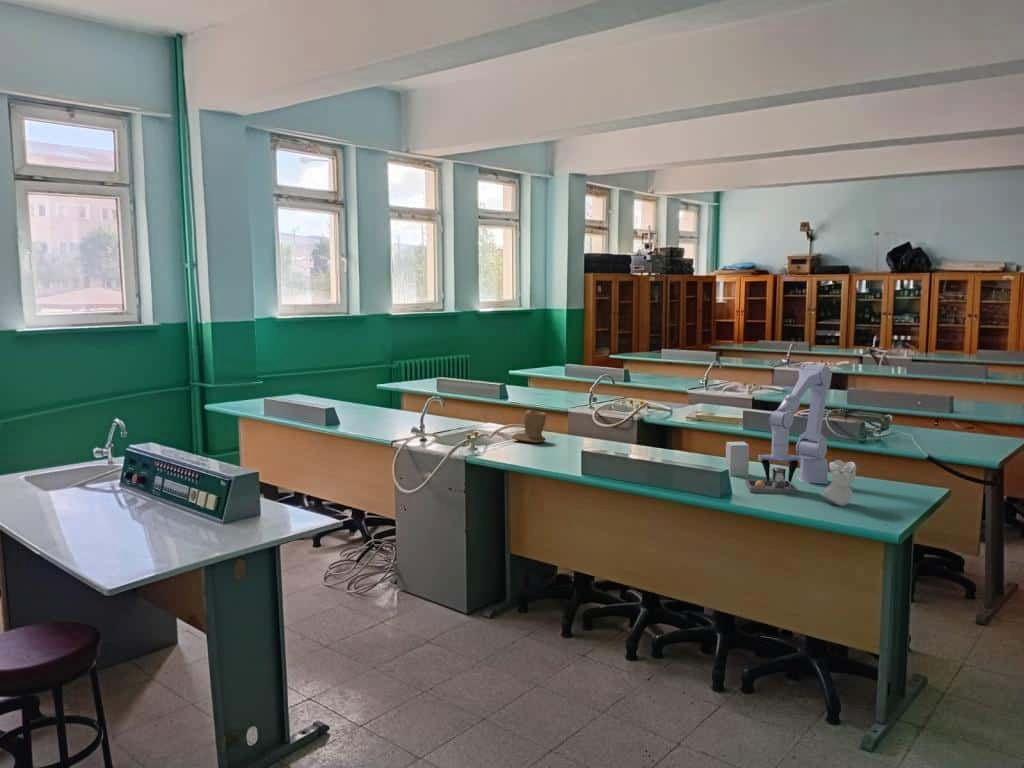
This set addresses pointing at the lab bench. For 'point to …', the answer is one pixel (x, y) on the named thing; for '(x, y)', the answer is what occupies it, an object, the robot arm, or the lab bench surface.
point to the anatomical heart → (841, 482)
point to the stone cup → (532, 427)
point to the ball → (760, 484)
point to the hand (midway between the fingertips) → (778, 480)
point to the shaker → (778, 478)
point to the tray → (770, 487)
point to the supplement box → (737, 458)
